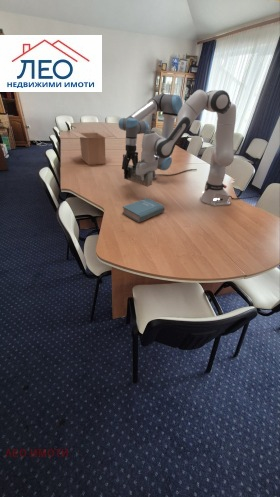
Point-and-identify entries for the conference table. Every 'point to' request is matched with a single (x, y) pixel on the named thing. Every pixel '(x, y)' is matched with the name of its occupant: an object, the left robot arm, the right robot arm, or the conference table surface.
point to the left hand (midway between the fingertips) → (129, 177)
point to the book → (142, 209)
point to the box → (92, 146)
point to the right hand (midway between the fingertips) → (146, 178)
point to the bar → (138, 179)
